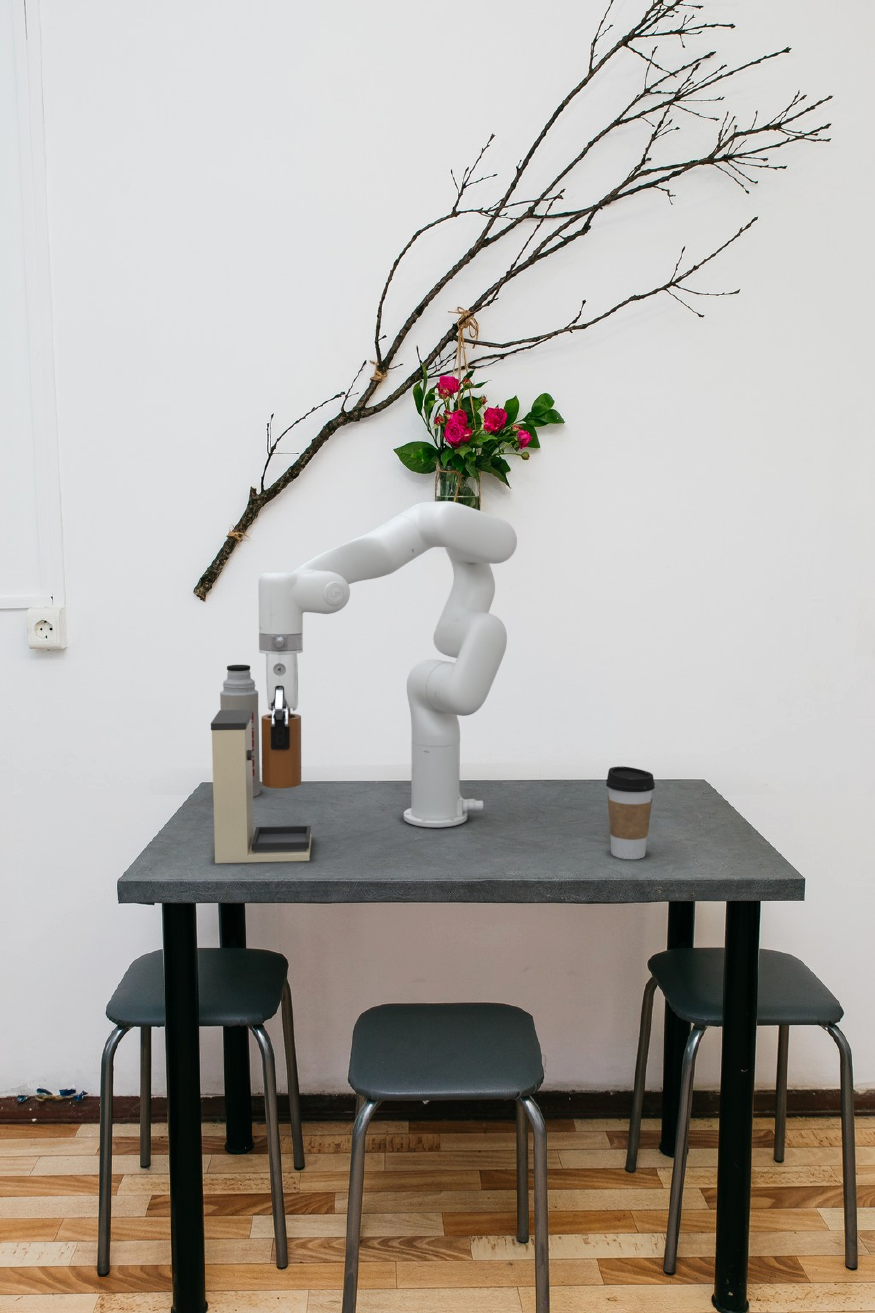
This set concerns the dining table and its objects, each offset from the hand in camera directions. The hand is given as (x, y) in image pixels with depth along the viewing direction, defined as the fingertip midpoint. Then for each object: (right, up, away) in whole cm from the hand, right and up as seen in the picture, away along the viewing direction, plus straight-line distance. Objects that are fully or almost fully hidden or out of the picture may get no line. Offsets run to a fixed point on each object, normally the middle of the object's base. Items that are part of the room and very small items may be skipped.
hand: (281, 743), depth 173 cm
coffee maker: (-3, -19, +2) cm, 20 cm away
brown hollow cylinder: (0, -7, +1) cm, 7 cm away
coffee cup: (+61, -20, +2) cm, 64 cm away
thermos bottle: (-15, -15, +40) cm, 45 cm away
